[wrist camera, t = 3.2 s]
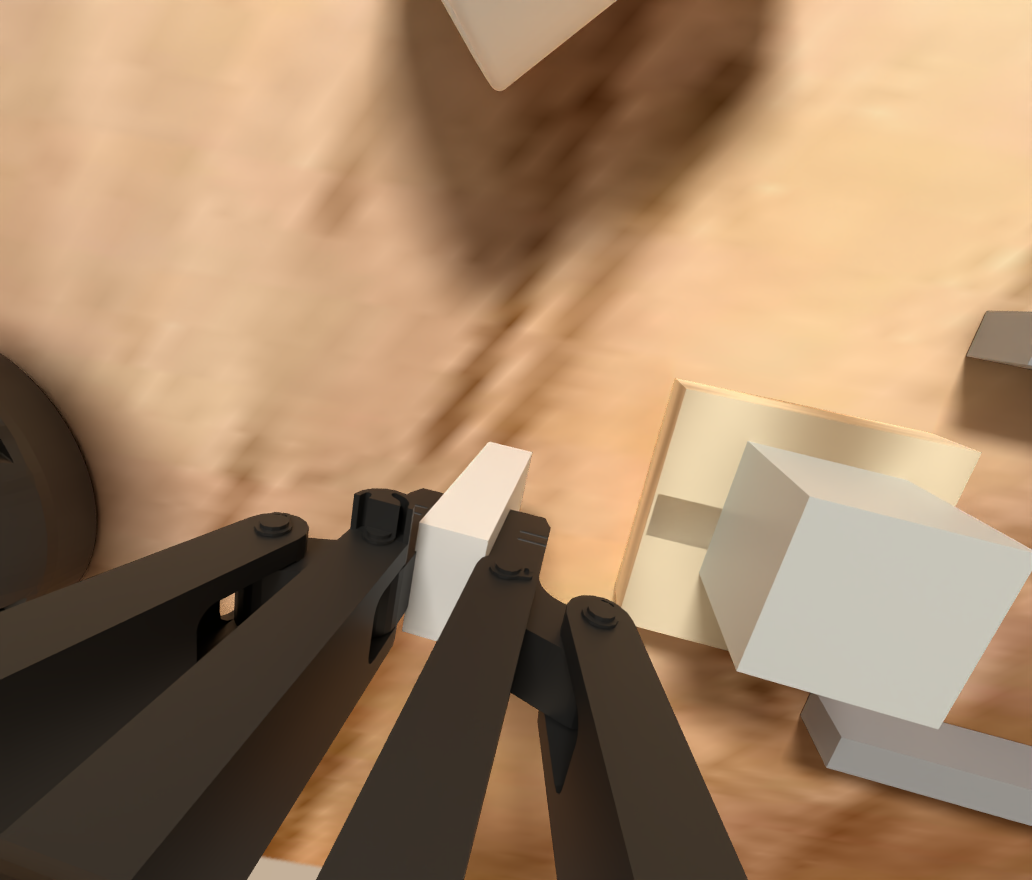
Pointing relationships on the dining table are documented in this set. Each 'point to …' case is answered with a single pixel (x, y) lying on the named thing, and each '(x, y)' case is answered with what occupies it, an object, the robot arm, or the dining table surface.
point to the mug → (518, 31)
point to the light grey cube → (856, 584)
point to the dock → (950, 749)
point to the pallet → (709, 475)
